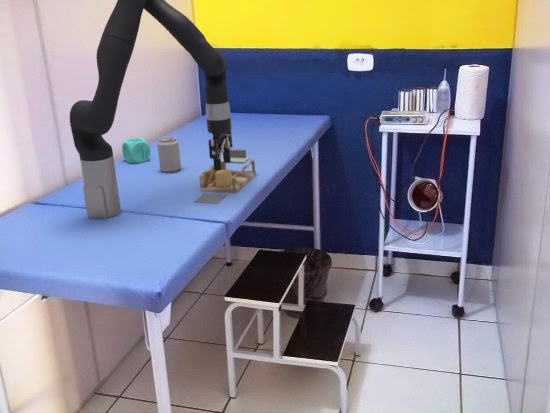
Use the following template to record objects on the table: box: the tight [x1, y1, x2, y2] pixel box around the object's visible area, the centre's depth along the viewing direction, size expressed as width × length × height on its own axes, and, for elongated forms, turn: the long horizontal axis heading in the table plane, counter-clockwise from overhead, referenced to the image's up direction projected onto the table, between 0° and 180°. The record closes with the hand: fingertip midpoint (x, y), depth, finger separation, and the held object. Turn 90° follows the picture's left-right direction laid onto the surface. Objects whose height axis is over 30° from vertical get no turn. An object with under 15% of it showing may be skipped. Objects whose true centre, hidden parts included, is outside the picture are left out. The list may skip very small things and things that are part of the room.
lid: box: [220, 148, 252, 165], centre depth 204 cm, size 6×9×3 cm
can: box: [156, 135, 182, 174], centre depth 216 cm, size 8×8×12 cm
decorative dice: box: [121, 137, 152, 164], centre depth 231 cm, size 8×8×8 cm
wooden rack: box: [198, 157, 257, 194], centre depth 199 cm, size 20×12×6 cm, turn 163°
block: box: [215, 169, 232, 187], centre depth 195 cm, size 4×4×5 cm
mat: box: [192, 193, 228, 205], centre depth 185 cm, size 8×8×1 cm
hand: (222, 166), depth 194 cm, fingers open, 8 cm apart
